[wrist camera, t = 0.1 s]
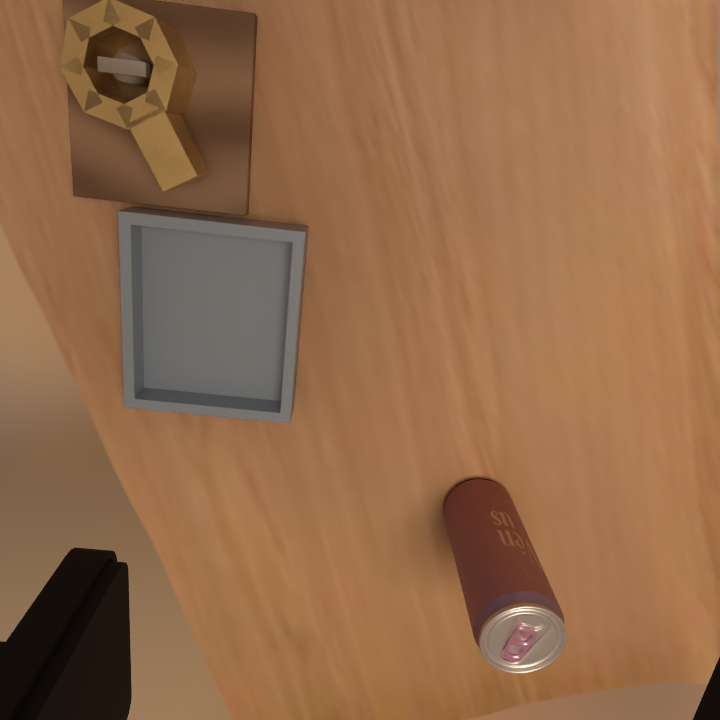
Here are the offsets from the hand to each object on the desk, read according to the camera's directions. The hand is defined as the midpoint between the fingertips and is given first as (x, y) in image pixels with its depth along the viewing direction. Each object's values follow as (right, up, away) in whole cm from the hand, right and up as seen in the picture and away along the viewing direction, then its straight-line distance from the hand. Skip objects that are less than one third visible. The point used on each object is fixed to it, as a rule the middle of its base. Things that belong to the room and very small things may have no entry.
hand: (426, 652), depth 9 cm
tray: (-12, +8, +36) cm, 39 cm away
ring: (-14, +21, +30) cm, 39 cm away
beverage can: (+9, -8, +42) cm, 44 cm away
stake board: (-14, +22, +31) cm, 40 cm away
